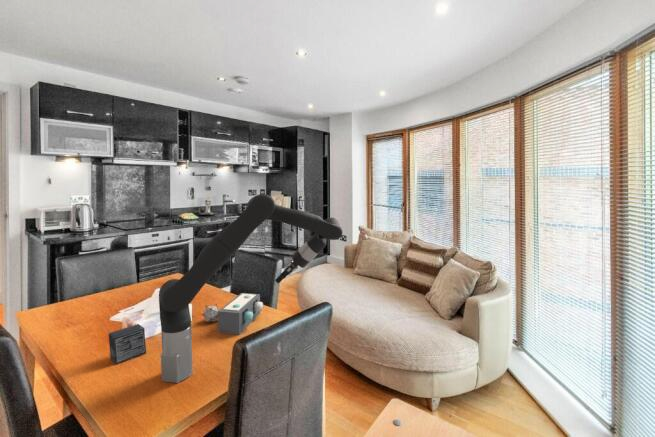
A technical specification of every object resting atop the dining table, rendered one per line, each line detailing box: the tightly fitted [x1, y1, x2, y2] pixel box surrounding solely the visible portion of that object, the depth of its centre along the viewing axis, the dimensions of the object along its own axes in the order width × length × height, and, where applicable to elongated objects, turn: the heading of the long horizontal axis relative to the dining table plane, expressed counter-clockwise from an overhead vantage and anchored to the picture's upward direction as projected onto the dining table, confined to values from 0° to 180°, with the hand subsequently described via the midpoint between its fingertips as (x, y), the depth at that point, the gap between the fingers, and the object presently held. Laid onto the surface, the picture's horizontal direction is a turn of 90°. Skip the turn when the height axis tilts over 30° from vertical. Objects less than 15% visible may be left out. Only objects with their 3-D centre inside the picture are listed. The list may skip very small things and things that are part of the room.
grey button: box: [254, 301, 264, 312], centre depth 156 cm, size 4×3×4 cm
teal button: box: [243, 311, 253, 323], centre depth 144 cm, size 4×3×4 cm
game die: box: [201, 303, 219, 324], centre depth 152 cm, size 9×8×10 cm
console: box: [217, 292, 261, 336], centre depth 151 cm, size 24×10×11 cm, turn 170°
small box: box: [108, 323, 147, 365], centre depth 121 cm, size 11×6×10 cm, turn 141°
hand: (278, 279), depth 140 cm, fingers open, 5 cm apart
